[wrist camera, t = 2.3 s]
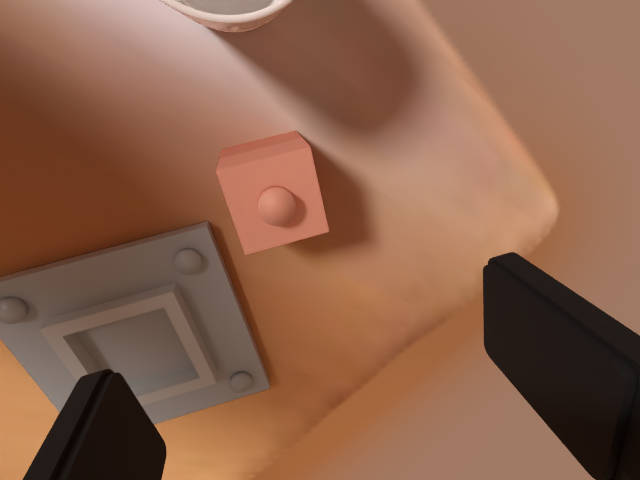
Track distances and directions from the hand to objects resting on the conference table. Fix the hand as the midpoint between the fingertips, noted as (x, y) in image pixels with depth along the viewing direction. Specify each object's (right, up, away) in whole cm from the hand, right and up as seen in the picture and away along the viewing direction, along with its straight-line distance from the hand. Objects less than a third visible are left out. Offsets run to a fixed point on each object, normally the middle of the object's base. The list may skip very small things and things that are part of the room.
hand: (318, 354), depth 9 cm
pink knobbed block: (-4, +7, +16) cm, 18 cm away
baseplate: (-14, -5, +19) cm, 24 cm away
